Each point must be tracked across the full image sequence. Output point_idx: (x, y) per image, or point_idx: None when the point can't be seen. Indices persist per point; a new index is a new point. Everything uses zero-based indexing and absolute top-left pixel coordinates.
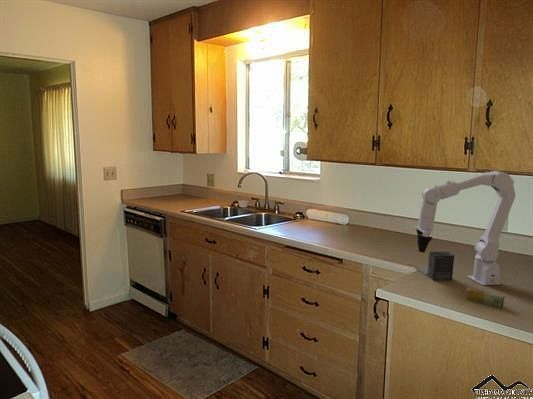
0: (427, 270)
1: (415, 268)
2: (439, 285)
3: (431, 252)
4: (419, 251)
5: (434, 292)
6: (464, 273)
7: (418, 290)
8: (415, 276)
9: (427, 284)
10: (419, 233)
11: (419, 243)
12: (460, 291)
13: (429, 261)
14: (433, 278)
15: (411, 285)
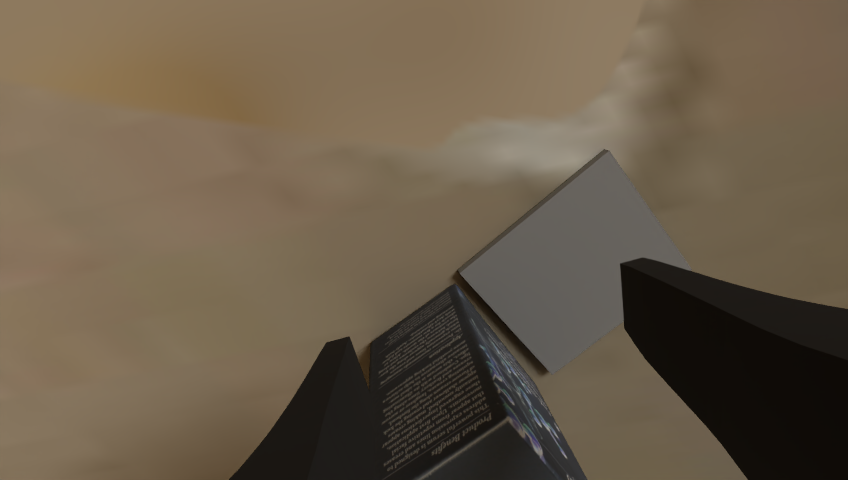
0: (565, 263)
1: (592, 159)
2: (292, 392)
3: (481, 446)
4: (322, 352)
5: (117, 394)
6: (651, 465)
7: (61, 298)
8: (381, 205)
9: (251, 323)
10: (846, 413)
11: (259, 453)
12: None
13: (465, 358)
14: (374, 346)
15: (131, 228)
